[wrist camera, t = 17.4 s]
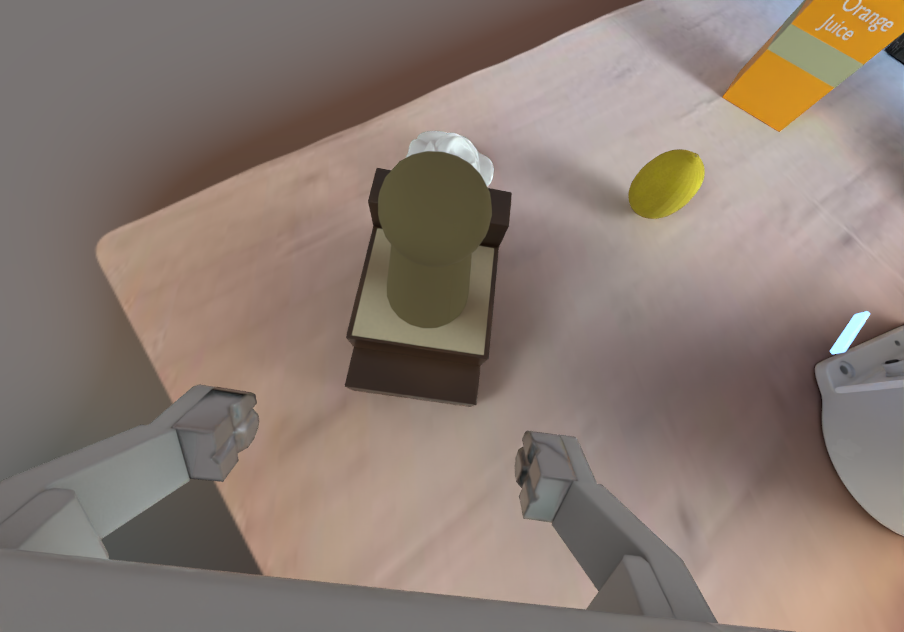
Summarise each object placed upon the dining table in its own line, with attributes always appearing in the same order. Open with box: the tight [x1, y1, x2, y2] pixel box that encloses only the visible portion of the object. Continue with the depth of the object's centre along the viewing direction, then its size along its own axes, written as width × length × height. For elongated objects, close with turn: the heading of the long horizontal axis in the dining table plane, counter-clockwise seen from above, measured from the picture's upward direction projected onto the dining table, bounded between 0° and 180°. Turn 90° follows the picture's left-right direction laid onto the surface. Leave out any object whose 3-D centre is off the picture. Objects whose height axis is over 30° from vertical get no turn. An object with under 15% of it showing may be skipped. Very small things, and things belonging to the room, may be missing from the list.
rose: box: [406, 131, 494, 186], centre depth 33 cm, size 10×4×10 cm
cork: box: [378, 151, 492, 328], centre depth 18 cm, size 6×6×11 cm
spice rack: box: [345, 168, 512, 407], centre depth 25 cm, size 15×10×9 cm, turn 173°
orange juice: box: [723, 0, 904, 132], centre depth 35 cm, size 8×9×20 cm
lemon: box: [628, 150, 704, 219], centre depth 32 cm, size 6×6×8 cm
